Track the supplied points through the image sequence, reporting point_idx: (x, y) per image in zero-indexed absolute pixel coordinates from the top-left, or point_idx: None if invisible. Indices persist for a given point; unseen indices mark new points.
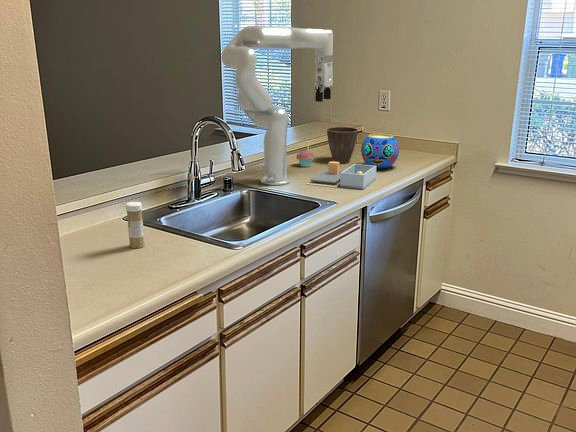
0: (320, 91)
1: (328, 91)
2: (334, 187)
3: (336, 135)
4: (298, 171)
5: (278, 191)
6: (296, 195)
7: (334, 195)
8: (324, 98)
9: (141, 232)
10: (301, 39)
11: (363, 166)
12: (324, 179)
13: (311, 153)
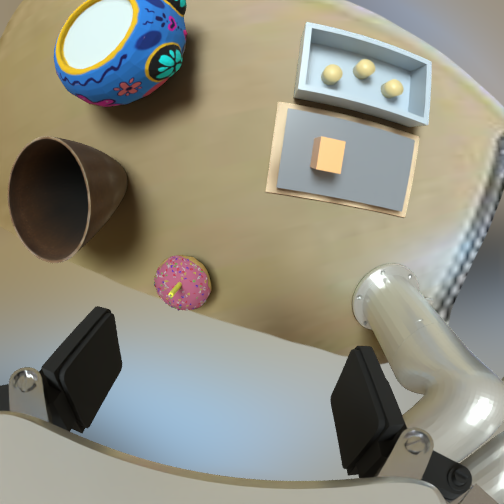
0: (425, 440)
1: (76, 382)
2: (418, 141)
3: (97, 206)
4: (263, 273)
5: (455, 265)
6: (477, 221)
7: (469, 139)
8: (120, 362)
9: None
10: None
11: (307, 59)
12: (397, 172)
13: (177, 269)
